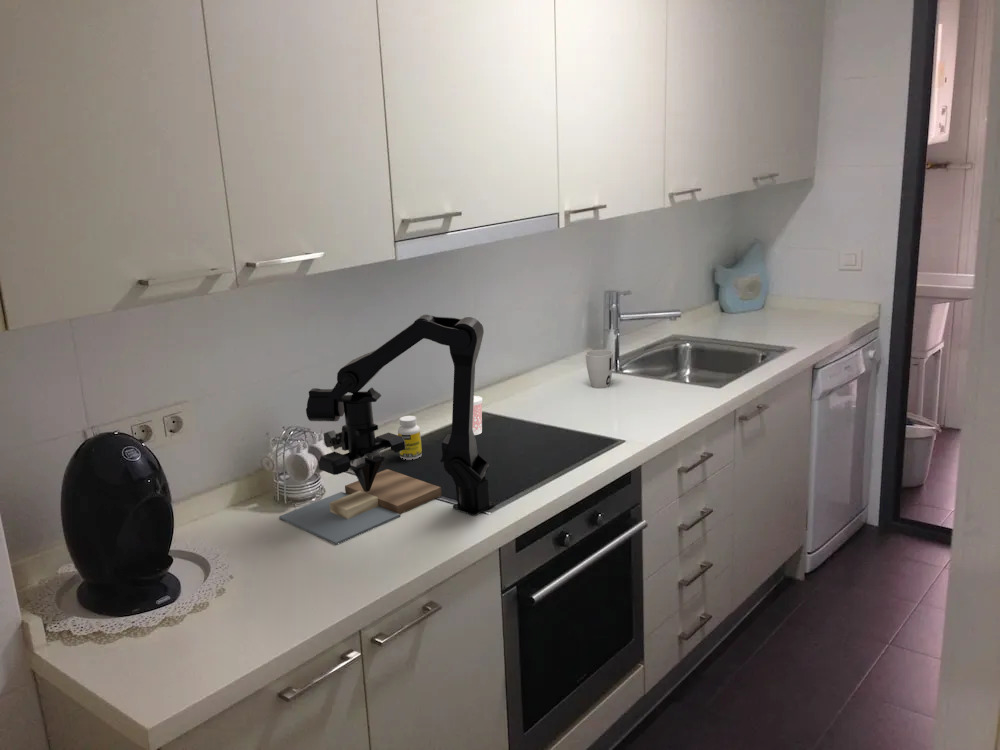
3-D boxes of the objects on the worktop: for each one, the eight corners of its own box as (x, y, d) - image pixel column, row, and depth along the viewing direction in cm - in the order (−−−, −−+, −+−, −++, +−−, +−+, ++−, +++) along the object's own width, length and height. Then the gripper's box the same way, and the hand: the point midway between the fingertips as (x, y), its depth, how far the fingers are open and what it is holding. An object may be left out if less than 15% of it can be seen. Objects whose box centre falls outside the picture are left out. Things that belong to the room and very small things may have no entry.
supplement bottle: (401, 461, 214) (397, 422, 212) (398, 454, 219) (395, 416, 217) (423, 458, 215) (420, 420, 213) (420, 451, 220) (417, 413, 218)
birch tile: (378, 505, 188) (377, 497, 188) (347, 519, 183) (346, 510, 182) (361, 499, 192) (360, 490, 192) (330, 511, 187) (329, 502, 186)
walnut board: (441, 495, 193) (440, 487, 192) (398, 514, 185) (397, 505, 184) (388, 477, 205) (387, 469, 205) (345, 494, 197) (344, 485, 196)
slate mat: (400, 516, 184) (400, 514, 184) (336, 544, 173) (336, 542, 173) (341, 493, 197) (341, 491, 197) (279, 518, 186) (278, 516, 186)
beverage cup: (486, 428, 234) (482, 376, 231) (483, 436, 228) (479, 383, 225) (462, 428, 235) (459, 377, 231) (459, 436, 229) (455, 384, 225)
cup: (613, 389, 261) (612, 356, 258) (585, 389, 262) (584, 356, 260) (614, 381, 269) (613, 349, 266) (587, 381, 270) (586, 349, 267)
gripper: (371, 402, 197) (377, 469, 201) (299, 425, 184) (307, 496, 189) (403, 411, 190) (410, 480, 194) (330, 436, 177) (339, 509, 181)
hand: (366, 490), depth 189 cm, fingers closed
